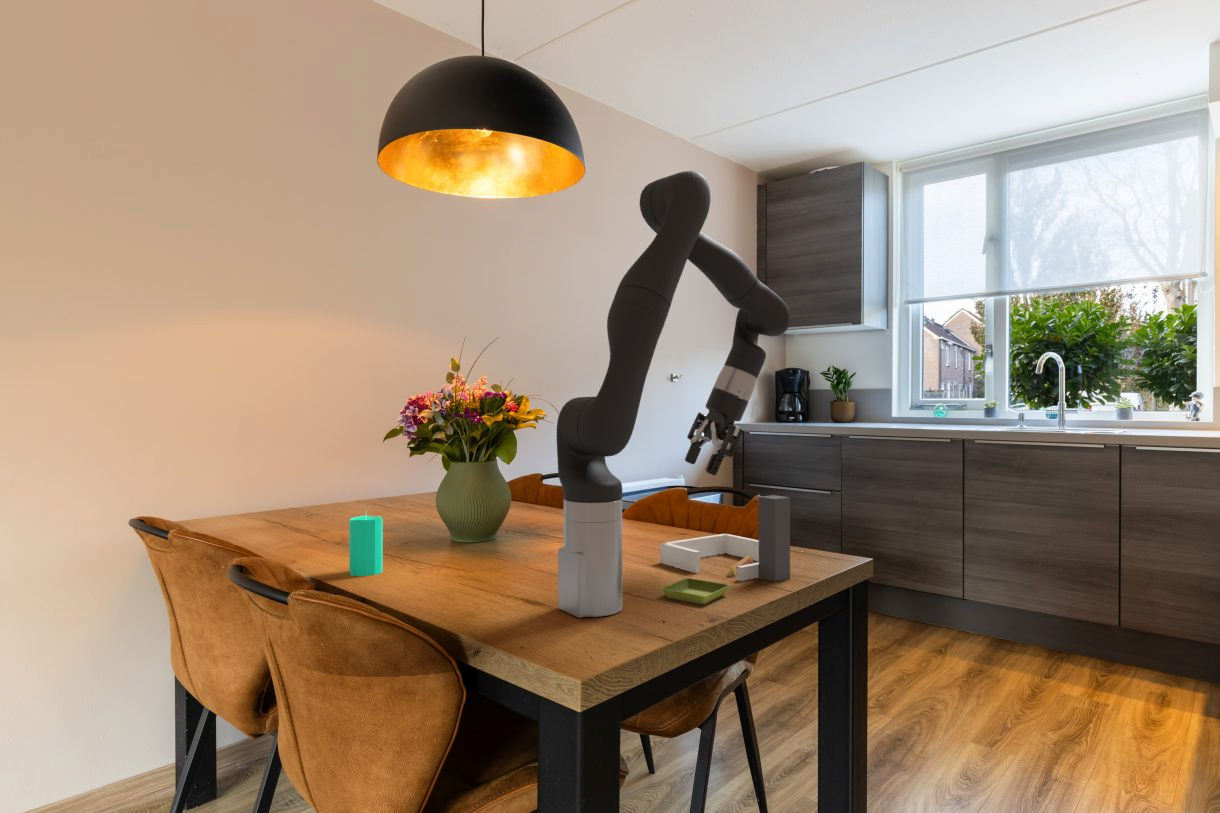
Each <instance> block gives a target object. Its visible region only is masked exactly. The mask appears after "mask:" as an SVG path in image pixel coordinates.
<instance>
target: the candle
mask: <svg viewBox="0 0 1220 813" xmlns="http://www.w3.org/2000/svg"><path fill="white" fill-rule="evenodd" d="M367 511H368V510H367V509H365V514H364V515H360V516H359V515H358V516H354V517H351V518H350V519H349V521H348V523H349V524H348V526H349V528H348V529H349V530H348V531H349V533H348V535H349V536H348V537H349V538H348V539H349V542H348V543H349V544H348V546H349V548H348V550H349V552H348V554H349V556H348V557H349V562H348V563H349V568H348V569H349V570H348V571H349V575H350V576H354V577H369V576H370V575H371V576H375V575H379V574H382V573H383V570H384V569H383V567H384V566H383V565H384V564H383V561H384V560H383V559H384V557H383V554H384V553H383V550H384V548H383V545H384V542H383V541H384V539H383V537H384V534H383V533H384V532H383V531H384V530H383V528H384V527H383V526H384V525H383V523H384V522H383V521H384V520H383V517H382V516H381V515H378V516H372V515H371V516H370V515H367Z"/></svg>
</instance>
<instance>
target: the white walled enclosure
mask: <svg viewBox="0 0 1220 813" xmlns="http://www.w3.org/2000/svg"><path fill="white" fill-rule="evenodd" d="M723 553H727V554H726V555H730V554H731V556H734V555H735V556H734V557H738V556H739V558H742V557H743V558H745V557H746V556H747V555H749V556H750V557H751V559H752V561H755V562H759V539H754V538H749V537H744V536H739V535H735V534H734V535H733V534H729V533H720V534H715V535H707V536H706V535H705V536H700V537H695V538H687V539H681V540H675V541H673V540H672V541H667V542H661V543H660V564H663V565H666V566H669V567H672V566H673V568H677V569H679V568H680V570H683V571H687V572H691V573H693V574H699V573H701V559H702V557H703V558H708V557H707V556H709V557H714V556H719V555H718V554H720V555H724V554H723ZM713 555H714V556H713ZM743 558H742V559H743Z"/></svg>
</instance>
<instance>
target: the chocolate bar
mask: <svg viewBox="0 0 1220 813" xmlns="http://www.w3.org/2000/svg"><path fill="white" fill-rule="evenodd" d="M753 563H754V560H752V559H751V557H750V556H749V555H747V556H746V557H745V558H742V559H741V560H739V561H738V562H736V563H735V564H733V565H732V566H731V567H730V569H729V571H728V572H727V574H726V576H725V577H734V578H738V566H743V565H748V564H753Z"/></svg>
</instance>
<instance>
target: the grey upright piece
mask: <svg viewBox="0 0 1220 813" xmlns="http://www.w3.org/2000/svg"><path fill="white" fill-rule="evenodd" d="M758 540H759V561H758V562H753V564H748V565H743V566H738V577H737V581H739V582H745V580H746V581H749V579H750V580H754V578H755V579H761V578H762V580H765V579H766V581H769V580H770V582H773V583H777V581H779V582H784V581H787V580H786V579H788V580H790V579H791V497H789V496H784V495H783V496H781V495H776V494H771V495H763V496H762V495H761V496H758Z"/></svg>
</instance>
